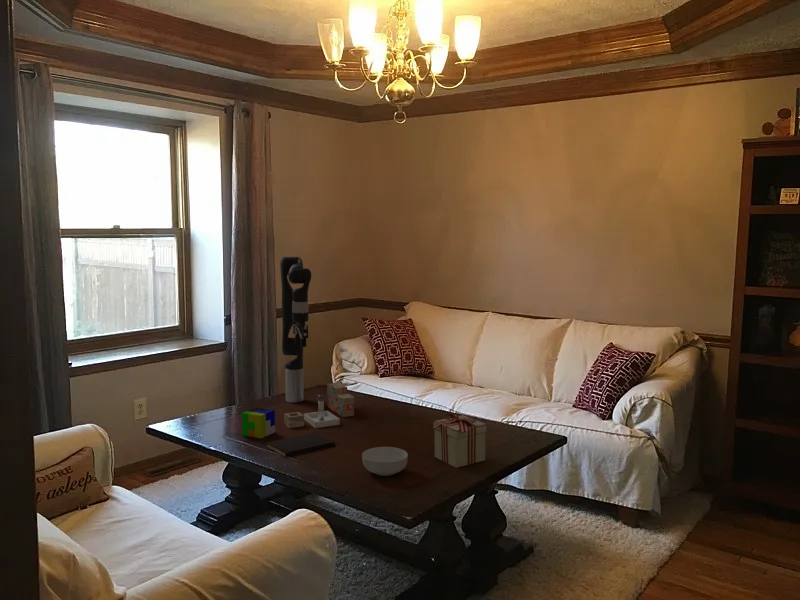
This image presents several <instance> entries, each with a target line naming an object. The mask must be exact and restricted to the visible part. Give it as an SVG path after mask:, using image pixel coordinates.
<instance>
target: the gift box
mask: <svg viewBox="0 0 800 600" xmlns="http://www.w3.org/2000/svg"><path fill="white" fill-rule="evenodd" d="M445 415H446V418H442V419H437V420H434V421H433V430H434V458H435V459H437V460H440V461H441V462H443V463H445V464H448V465H449V466H451V467H454V468H456V469H458V468H460V467H461V468H462V467H464V466H469V465H473V464H477V463H482V462H484V461H485V462H486V433H487V424H486V423H485V422H482V421H480V420H477V419H475V418H471V417H469V416H466V415H464V414H461V415H457V414H454V413H448V412H447V413H446V414H445ZM447 416H449V417H447Z"/></svg>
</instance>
